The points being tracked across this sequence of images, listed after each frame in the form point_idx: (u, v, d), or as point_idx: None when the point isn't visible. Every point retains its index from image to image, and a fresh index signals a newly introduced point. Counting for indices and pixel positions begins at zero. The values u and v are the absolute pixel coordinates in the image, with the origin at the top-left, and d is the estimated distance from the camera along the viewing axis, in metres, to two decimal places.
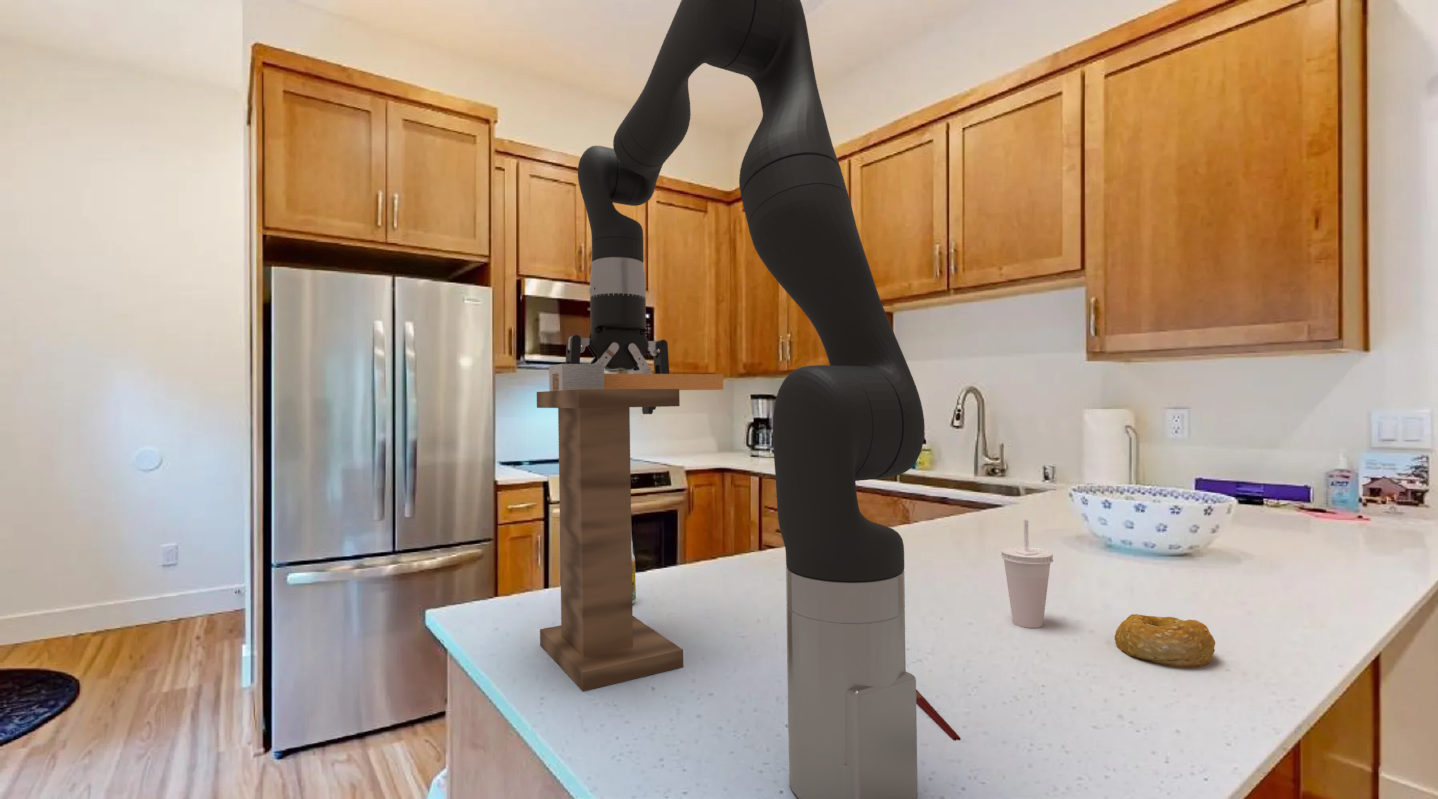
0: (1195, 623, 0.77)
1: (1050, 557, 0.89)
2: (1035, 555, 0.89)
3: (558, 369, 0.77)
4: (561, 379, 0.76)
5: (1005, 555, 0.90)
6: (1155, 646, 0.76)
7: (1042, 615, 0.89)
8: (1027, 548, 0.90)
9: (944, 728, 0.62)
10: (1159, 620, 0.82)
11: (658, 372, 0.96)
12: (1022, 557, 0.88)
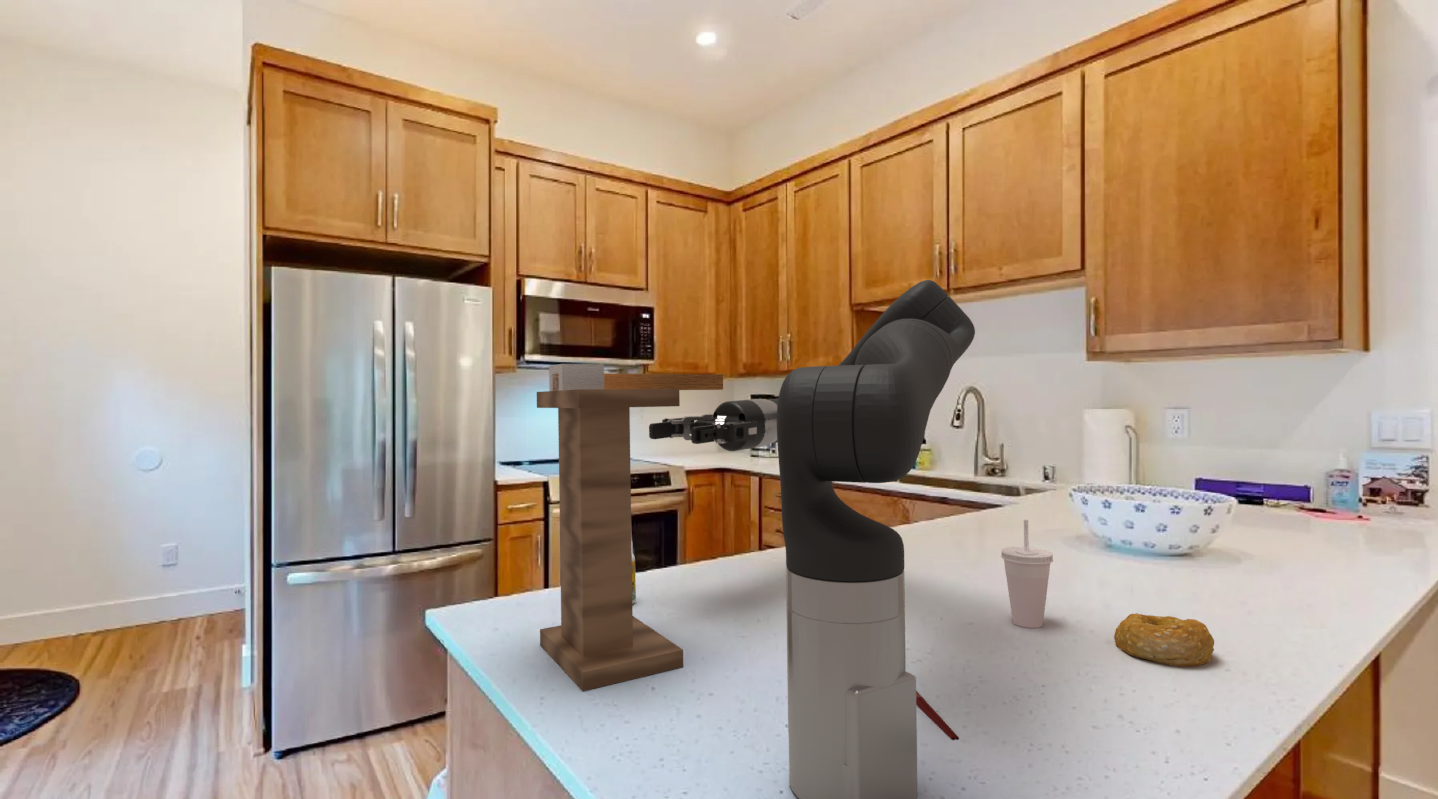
0: (1194, 622, 0.77)
1: (1050, 557, 0.89)
2: (1035, 555, 0.89)
3: (558, 369, 0.77)
4: (561, 379, 0.76)
5: (1005, 555, 0.90)
6: (1154, 645, 0.76)
7: (1042, 615, 0.89)
8: (1027, 548, 0.90)
9: (942, 727, 0.62)
10: (1158, 619, 0.82)
11: None
12: (1022, 557, 0.88)
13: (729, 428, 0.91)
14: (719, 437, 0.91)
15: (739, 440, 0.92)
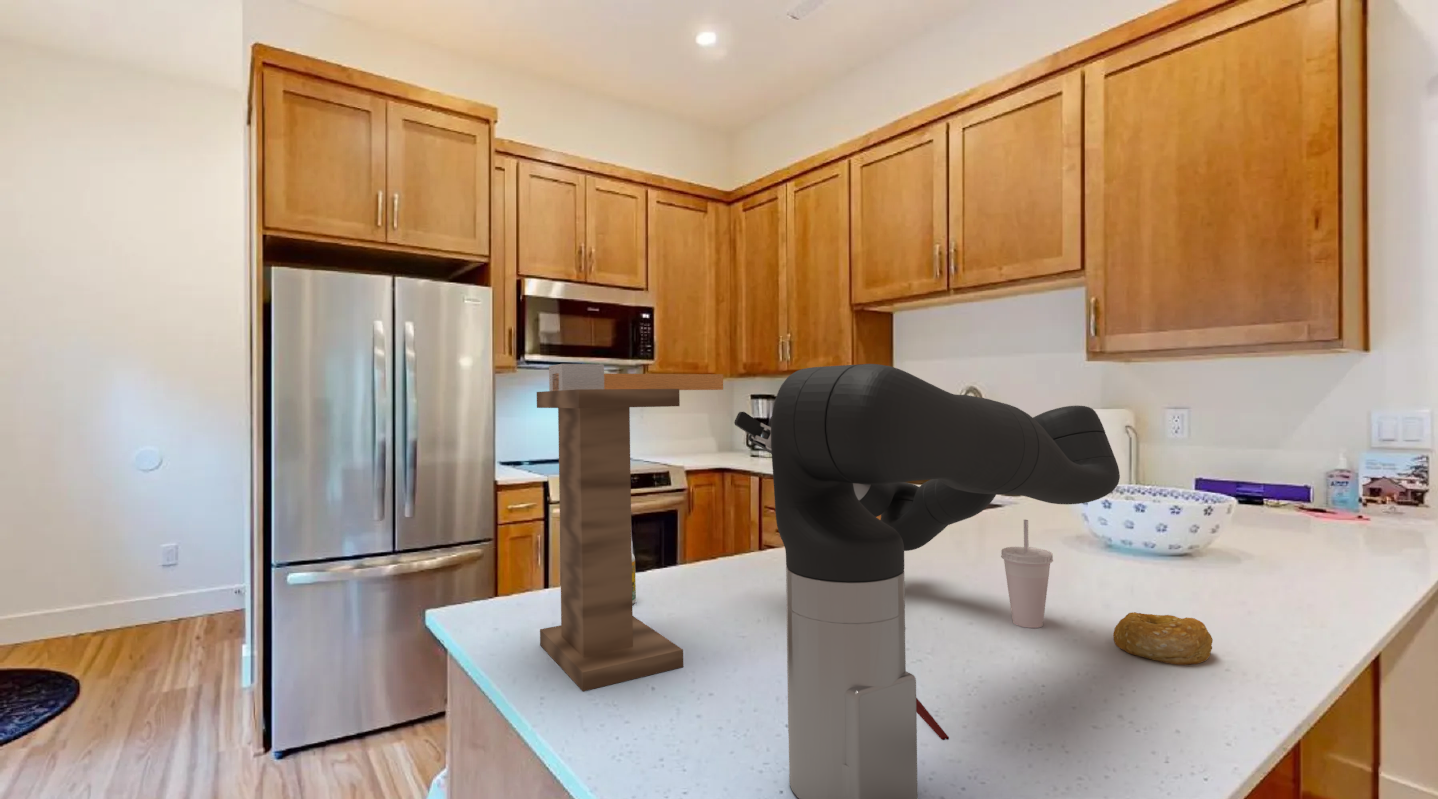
0: (1193, 621, 0.78)
1: (1050, 557, 0.89)
2: (1035, 555, 0.89)
3: (558, 369, 0.77)
4: (561, 379, 0.76)
5: (1005, 555, 0.90)
6: (1153, 643, 0.77)
7: (1042, 615, 0.89)
8: (1027, 548, 0.90)
9: (933, 727, 0.62)
10: (1157, 618, 0.83)
11: None
12: (1022, 557, 0.88)
13: None
14: None
15: None
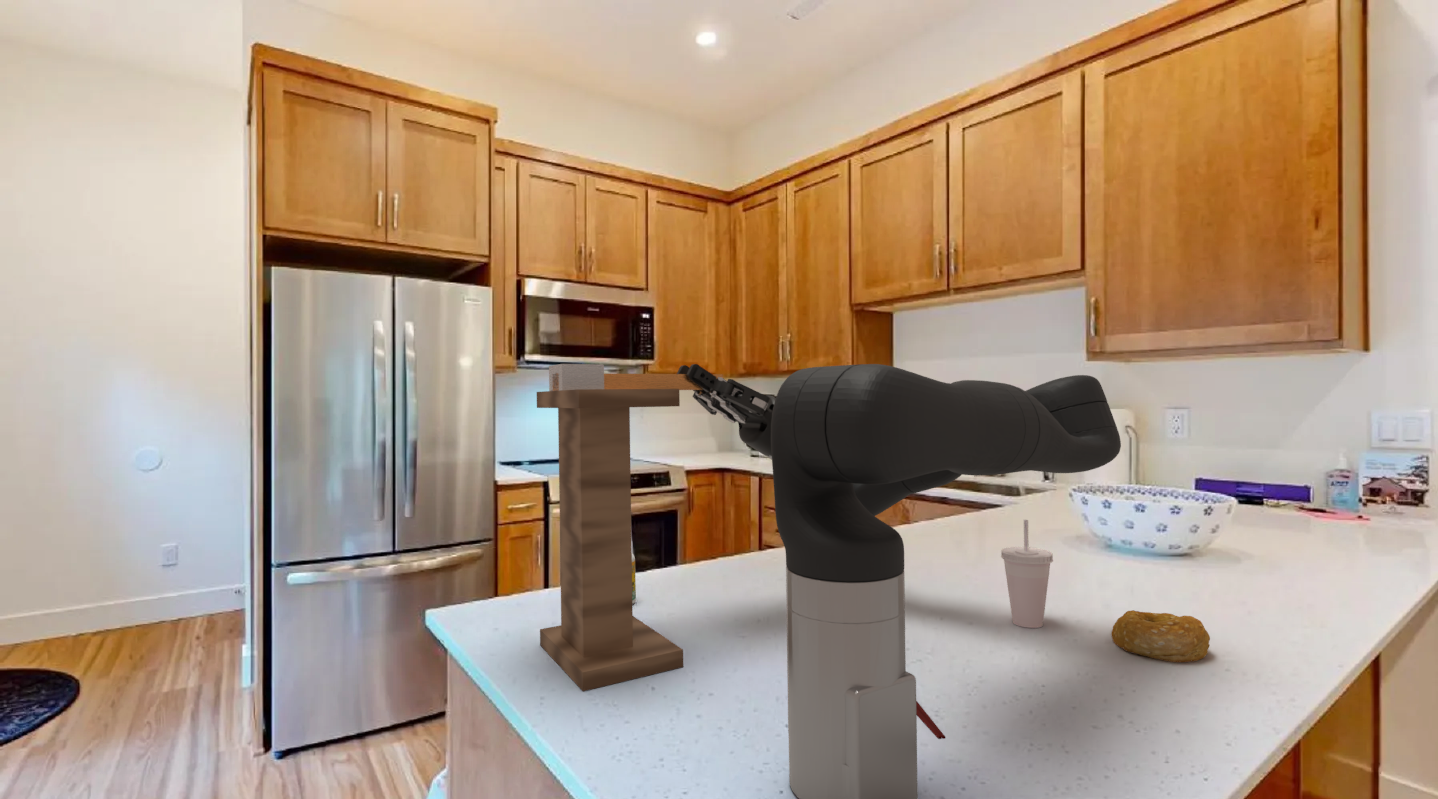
0: (1190, 619, 0.78)
1: (1050, 557, 0.89)
2: (1035, 555, 0.89)
3: (558, 369, 0.77)
4: (561, 379, 0.76)
5: (1005, 555, 0.90)
6: (1151, 641, 0.77)
7: (1042, 615, 0.89)
8: (1027, 548, 0.90)
9: (930, 726, 0.62)
10: (1155, 616, 0.84)
11: None
12: (1022, 557, 0.88)
13: (727, 382, 0.86)
14: (715, 388, 0.86)
15: (732, 398, 0.85)
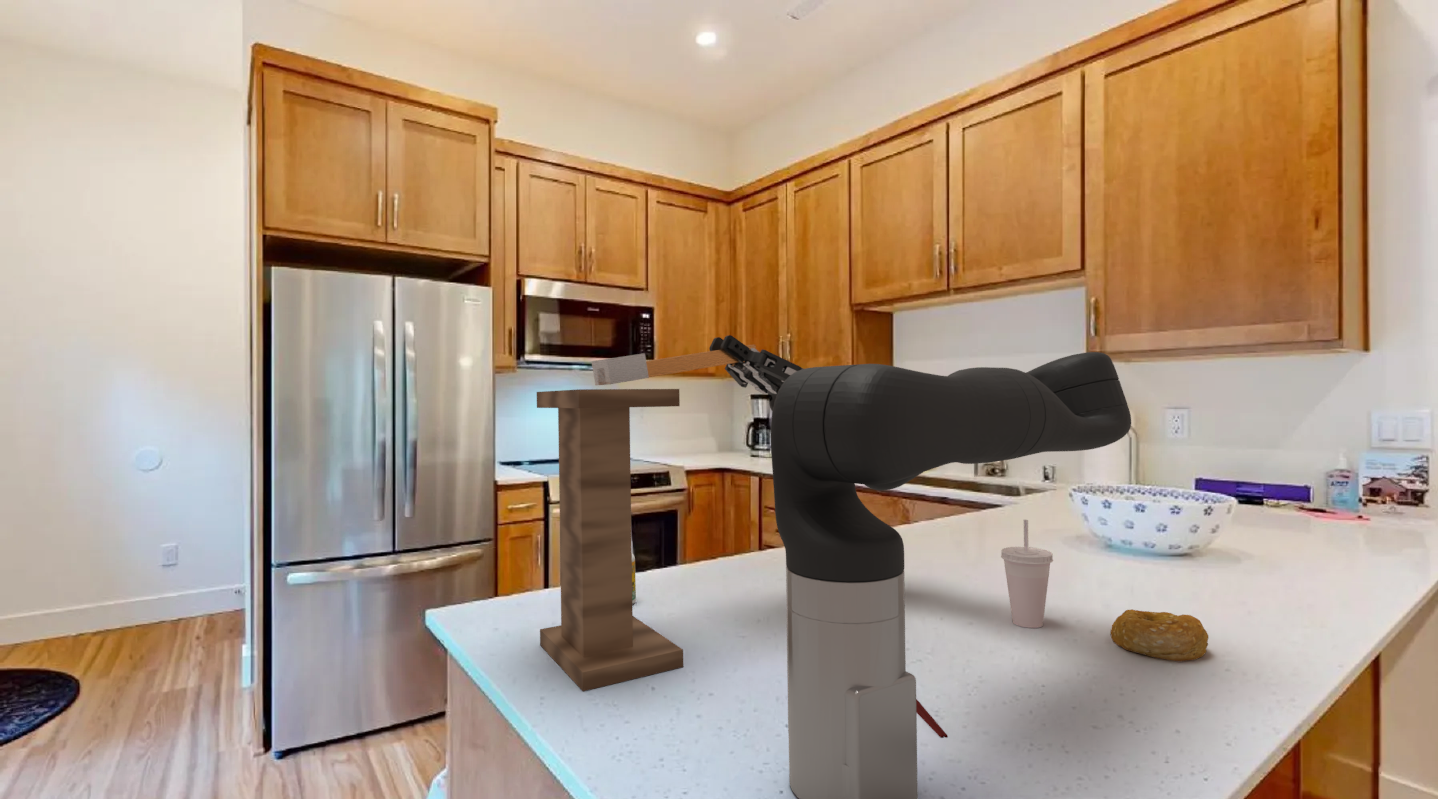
0: (1189, 618, 0.79)
1: (1050, 557, 0.89)
2: (1035, 555, 0.89)
3: (603, 364, 0.80)
4: (608, 374, 0.79)
5: (1005, 555, 0.90)
6: (1150, 640, 0.78)
7: (1042, 615, 0.89)
8: (1027, 548, 0.90)
9: (932, 726, 0.63)
10: (1154, 615, 0.84)
11: None
12: (1022, 557, 0.88)
13: (760, 352, 0.89)
14: (749, 358, 0.89)
15: (766, 368, 0.88)
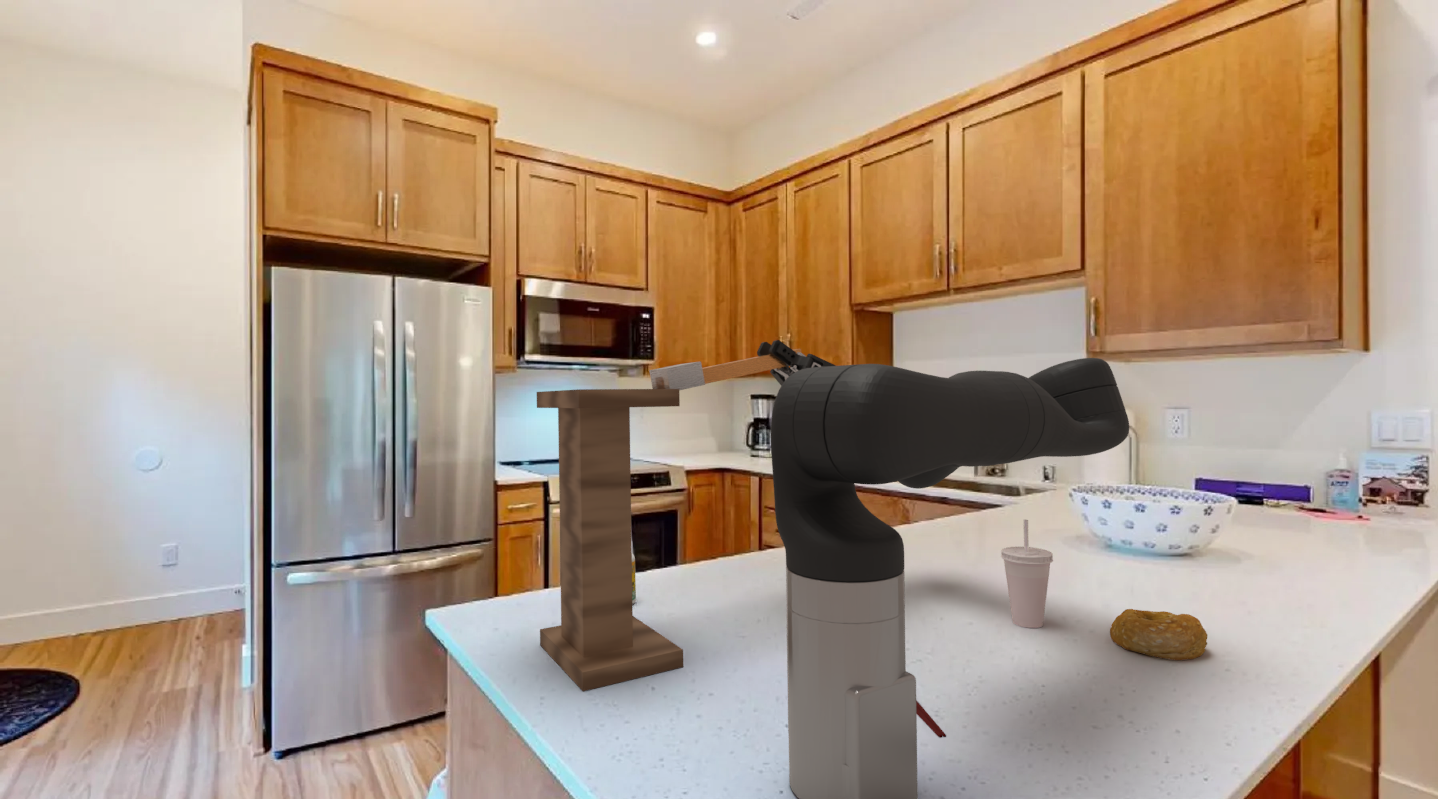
0: (1188, 617, 0.79)
1: (1050, 557, 0.89)
2: (1035, 555, 0.89)
3: (662, 373, 0.84)
4: (667, 382, 0.83)
5: (1005, 555, 0.90)
6: (1149, 639, 0.78)
7: (1042, 615, 0.89)
8: (1027, 548, 0.90)
9: (930, 725, 0.63)
10: (1153, 614, 0.84)
11: None
12: (1022, 557, 0.88)
13: (807, 356, 0.93)
14: (796, 362, 0.93)
15: None
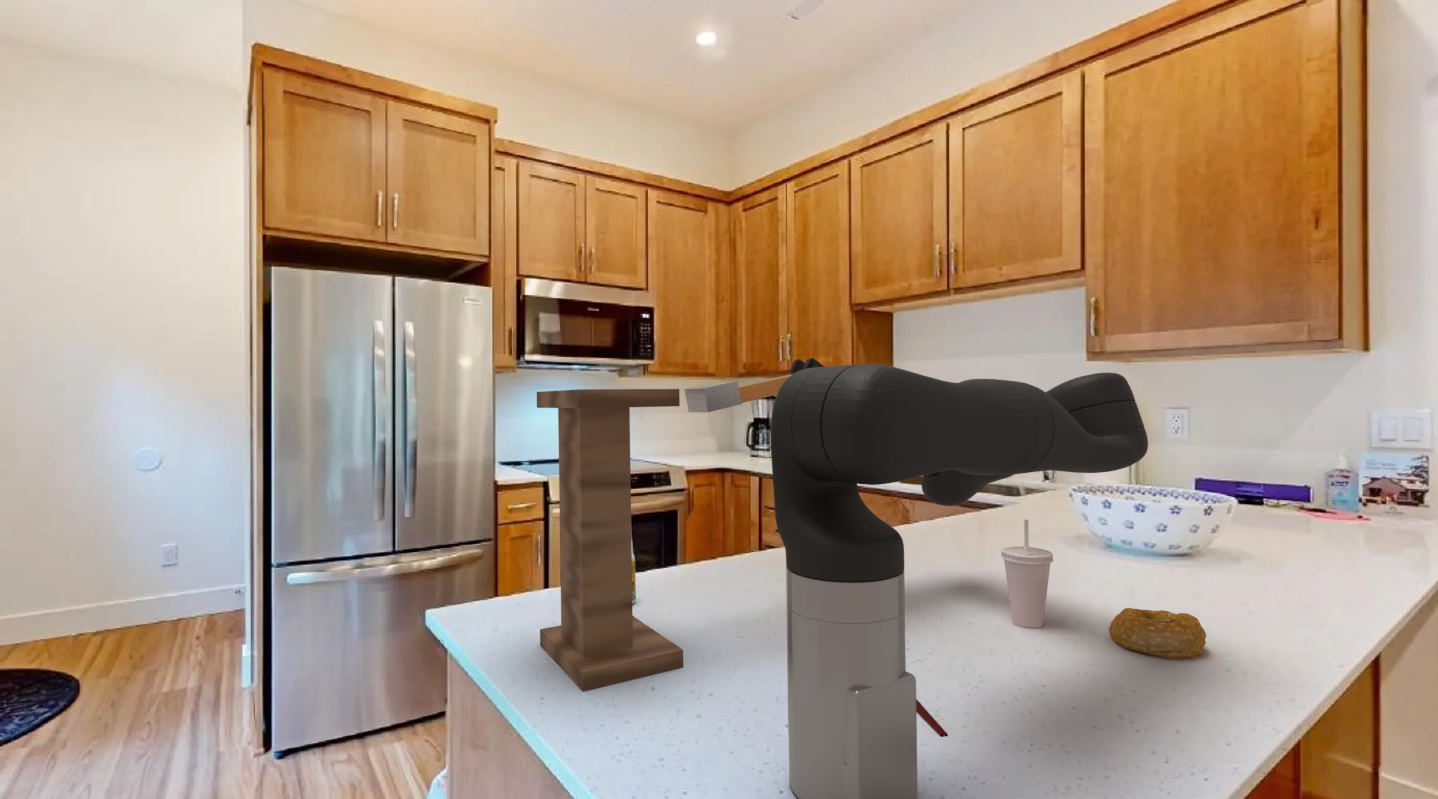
0: (1187, 616, 0.79)
1: (1050, 557, 0.89)
2: (1035, 555, 0.89)
3: (699, 392, 0.83)
4: (705, 402, 0.82)
5: (1005, 555, 0.90)
6: (1148, 638, 0.78)
7: (1042, 615, 0.89)
8: (1027, 548, 0.90)
9: (932, 724, 0.63)
10: (1152, 613, 0.85)
11: None
12: (1022, 557, 0.88)
13: None
14: None
15: None
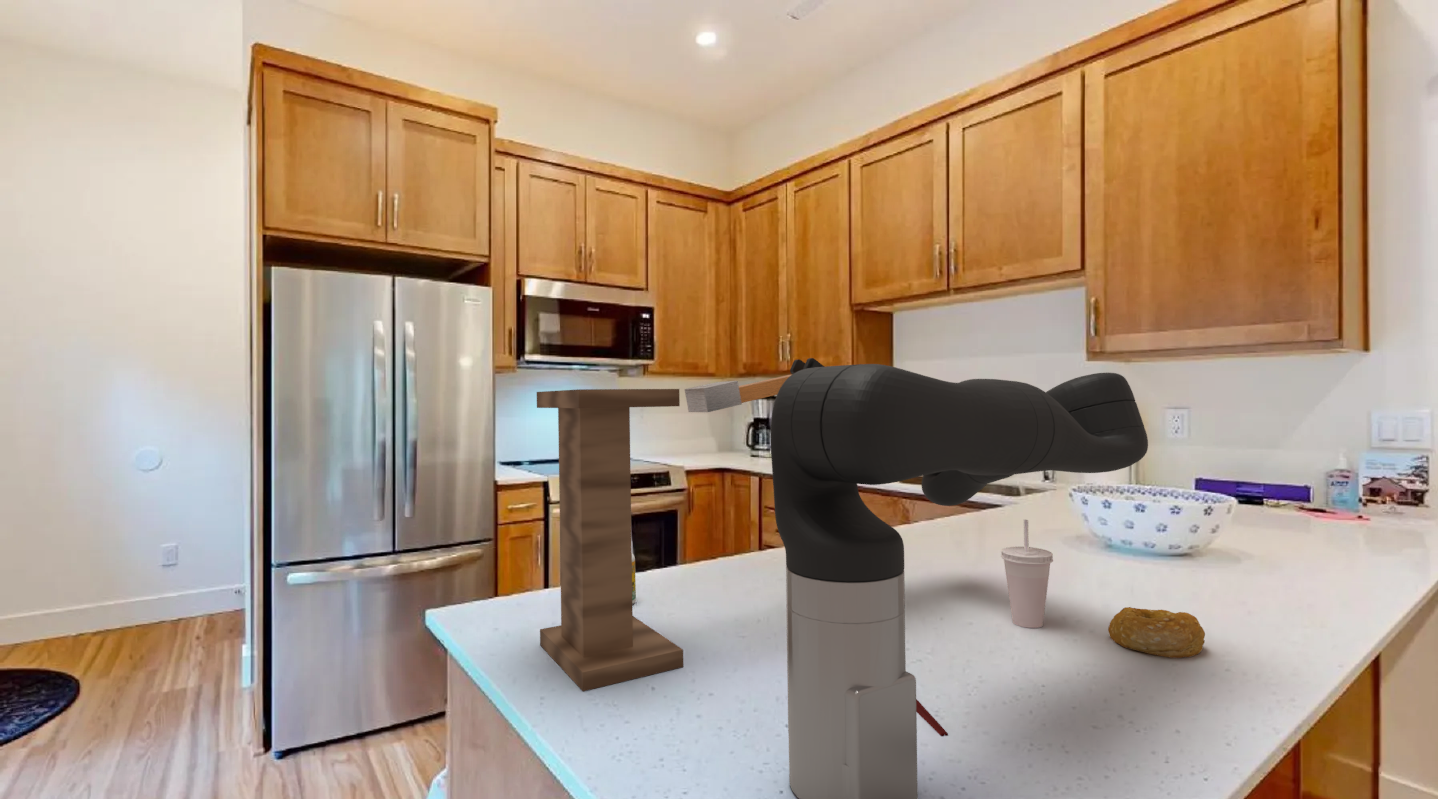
0: (1186, 615, 0.80)
1: (1050, 557, 0.89)
2: (1035, 555, 0.89)
3: (699, 392, 0.83)
4: (705, 402, 0.82)
5: (1005, 555, 0.90)
6: (1147, 637, 0.79)
7: (1042, 615, 0.89)
8: (1027, 548, 0.90)
9: (932, 724, 0.63)
10: (1151, 613, 0.85)
11: None
12: (1022, 557, 0.88)
13: None
14: None
15: None
